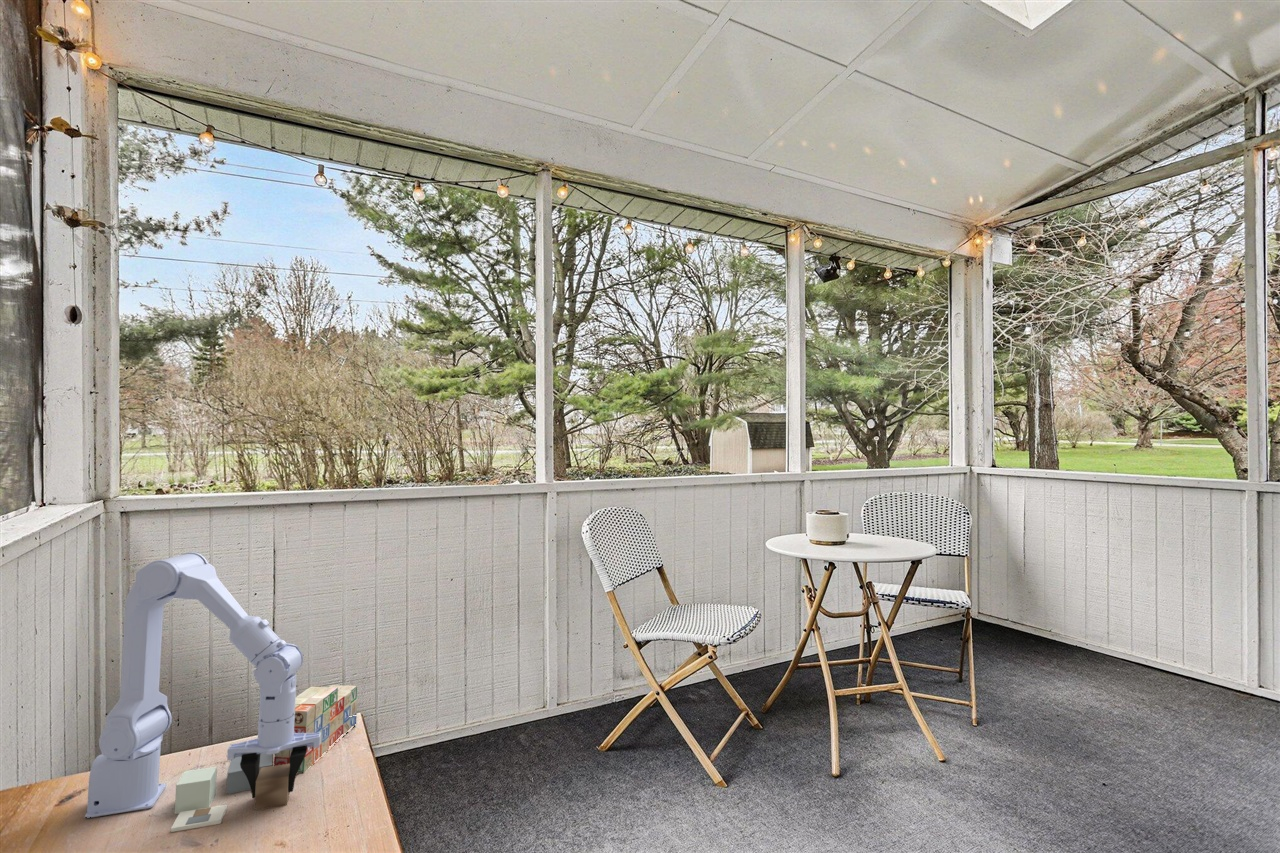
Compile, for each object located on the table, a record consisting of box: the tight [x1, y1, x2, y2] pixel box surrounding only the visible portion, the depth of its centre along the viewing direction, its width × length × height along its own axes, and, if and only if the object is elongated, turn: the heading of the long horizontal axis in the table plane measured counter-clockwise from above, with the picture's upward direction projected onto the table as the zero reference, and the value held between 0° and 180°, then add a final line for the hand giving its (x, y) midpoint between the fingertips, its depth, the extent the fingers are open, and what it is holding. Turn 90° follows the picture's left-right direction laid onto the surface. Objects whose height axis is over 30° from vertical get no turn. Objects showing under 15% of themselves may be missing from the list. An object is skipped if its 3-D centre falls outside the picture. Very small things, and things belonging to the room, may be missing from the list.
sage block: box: [174, 765, 218, 815], centre depth 111 cm, size 5×5×5 cm
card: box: [170, 803, 228, 833], centre depth 106 cm, size 7×5×1 cm
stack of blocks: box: [273, 684, 358, 773], centre depth 133 cm, size 21×6×12 cm, turn 178°
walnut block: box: [253, 764, 291, 811], centre depth 112 cm, size 5×5×5 cm
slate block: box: [225, 753, 274, 795], centre depth 119 cm, size 7×7×4 cm
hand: (273, 792), depth 112 cm, fingers closed on walnut block, 5 cm apart
